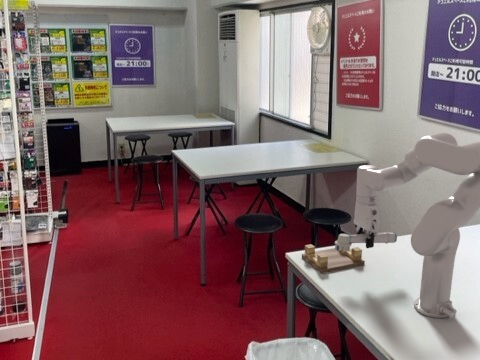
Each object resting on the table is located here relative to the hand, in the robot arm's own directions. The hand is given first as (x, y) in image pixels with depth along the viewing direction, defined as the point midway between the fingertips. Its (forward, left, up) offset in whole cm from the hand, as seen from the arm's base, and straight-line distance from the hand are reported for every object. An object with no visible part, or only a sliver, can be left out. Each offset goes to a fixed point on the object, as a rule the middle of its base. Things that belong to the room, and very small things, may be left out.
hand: (365, 244), depth 192 cm
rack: (+17, +3, -13) cm, 22 cm away
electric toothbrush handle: (0, 0, -1) cm, 1 cm away
